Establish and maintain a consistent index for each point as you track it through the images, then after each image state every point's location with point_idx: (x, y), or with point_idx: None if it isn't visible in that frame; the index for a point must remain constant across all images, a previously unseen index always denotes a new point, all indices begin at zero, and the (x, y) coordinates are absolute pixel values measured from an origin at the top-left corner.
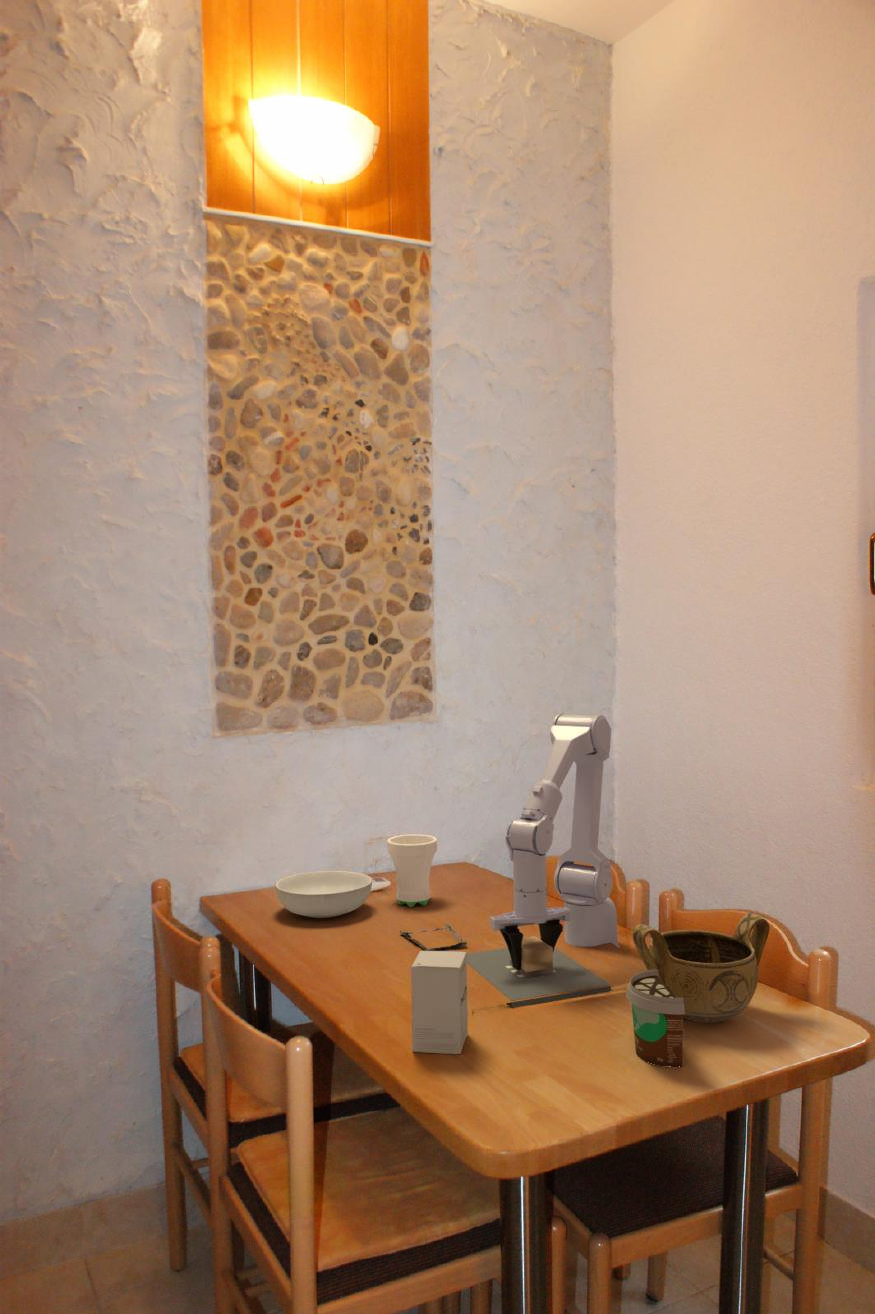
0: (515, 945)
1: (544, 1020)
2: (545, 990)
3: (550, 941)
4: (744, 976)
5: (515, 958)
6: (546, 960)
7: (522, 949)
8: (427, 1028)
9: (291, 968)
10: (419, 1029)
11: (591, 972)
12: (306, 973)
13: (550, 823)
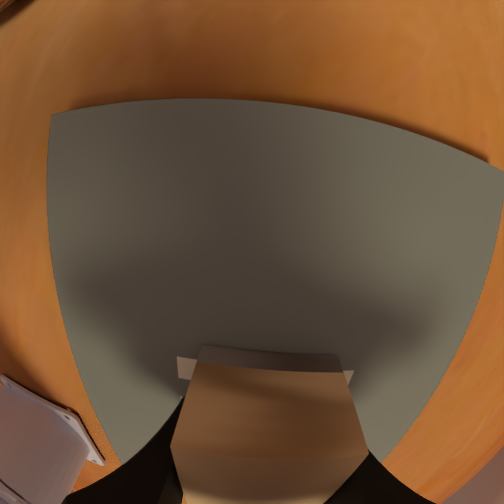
0: (396, 486)
1: (443, 26)
2: (364, 178)
3: (161, 482)
4: None
5: None
6: (228, 397)
7: (350, 473)
8: None
9: (492, 454)
10: None
11: (56, 271)
12: (499, 443)
13: None
